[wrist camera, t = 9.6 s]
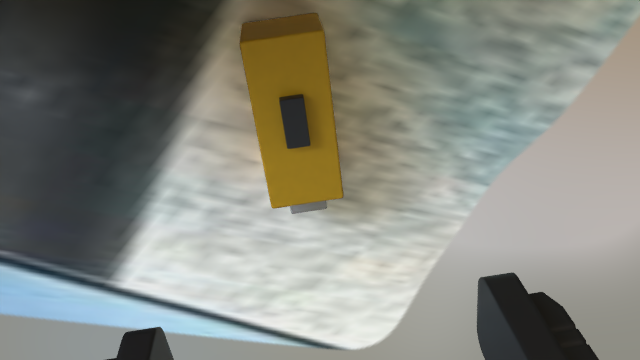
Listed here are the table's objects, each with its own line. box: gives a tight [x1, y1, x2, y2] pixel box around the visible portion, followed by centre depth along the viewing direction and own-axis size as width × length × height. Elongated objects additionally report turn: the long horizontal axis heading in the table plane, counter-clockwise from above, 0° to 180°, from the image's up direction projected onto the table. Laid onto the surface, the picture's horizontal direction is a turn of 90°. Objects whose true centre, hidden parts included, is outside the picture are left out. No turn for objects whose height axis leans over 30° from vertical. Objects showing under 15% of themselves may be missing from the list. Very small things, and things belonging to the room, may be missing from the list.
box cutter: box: [240, 13, 344, 214], centre depth 22 cm, size 8×3×3 cm, turn 7°
